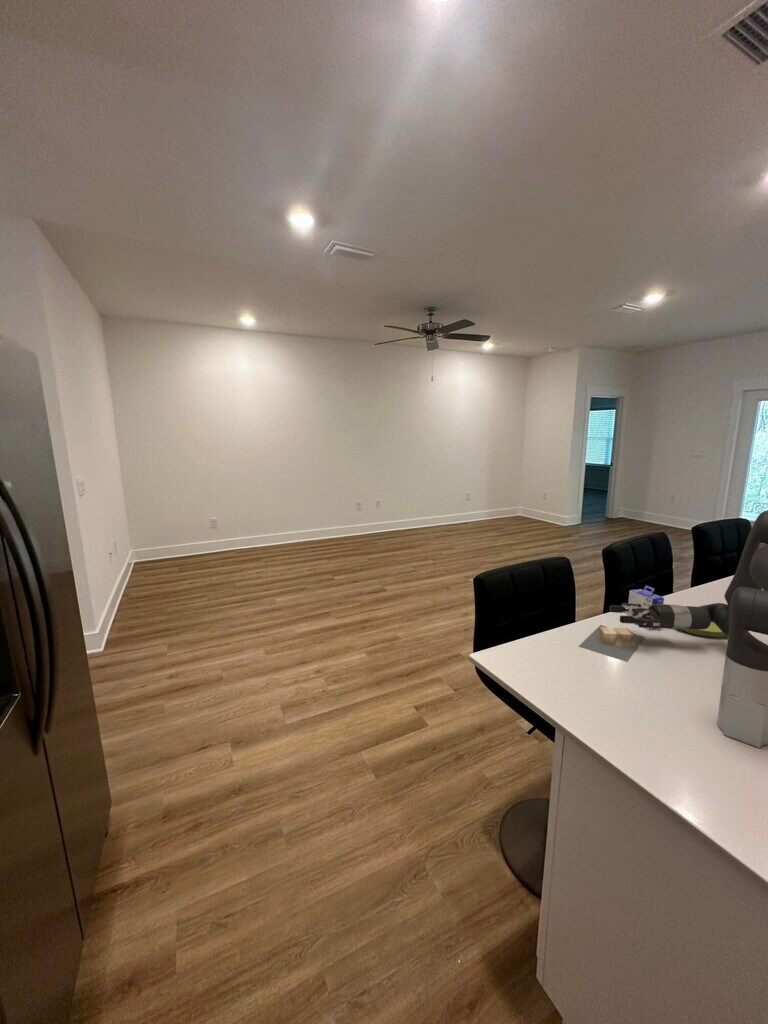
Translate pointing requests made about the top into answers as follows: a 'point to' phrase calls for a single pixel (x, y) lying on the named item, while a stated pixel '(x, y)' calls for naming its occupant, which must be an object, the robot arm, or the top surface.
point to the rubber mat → (610, 646)
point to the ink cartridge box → (645, 600)
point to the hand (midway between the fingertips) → (614, 613)
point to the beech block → (616, 636)
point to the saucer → (707, 631)
